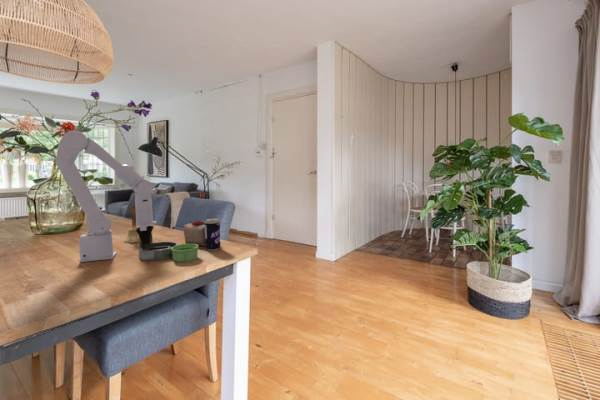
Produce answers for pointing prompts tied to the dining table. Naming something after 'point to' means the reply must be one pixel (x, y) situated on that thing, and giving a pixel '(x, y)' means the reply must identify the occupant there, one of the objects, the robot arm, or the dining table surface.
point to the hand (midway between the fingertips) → (146, 245)
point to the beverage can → (212, 234)
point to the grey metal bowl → (156, 251)
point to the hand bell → (132, 233)
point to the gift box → (195, 233)
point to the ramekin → (185, 252)
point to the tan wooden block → (150, 240)
